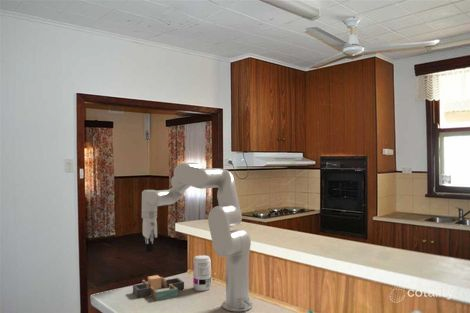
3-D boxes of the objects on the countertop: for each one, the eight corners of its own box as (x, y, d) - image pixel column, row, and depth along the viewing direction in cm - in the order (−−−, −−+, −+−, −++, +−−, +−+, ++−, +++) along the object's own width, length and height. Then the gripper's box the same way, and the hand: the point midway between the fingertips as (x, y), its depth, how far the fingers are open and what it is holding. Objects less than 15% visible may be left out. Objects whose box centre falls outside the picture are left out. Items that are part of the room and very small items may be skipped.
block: (161, 288, 179) (161, 277, 179) (150, 290, 177) (150, 279, 177) (157, 285, 184) (157, 275, 184) (147, 287, 181) (147, 276, 181)
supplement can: (190, 290, 176) (190, 258, 176) (198, 285, 183) (198, 254, 184) (206, 292, 173) (206, 259, 173) (213, 286, 181) (213, 255, 181)
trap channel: (190, 294, 170) (190, 286, 170) (142, 303, 159) (142, 295, 159) (173, 282, 188) (173, 275, 188) (129, 289, 177) (129, 282, 177)
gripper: (161, 216, 183) (161, 253, 183) (152, 212, 196) (151, 247, 196) (146, 217, 179) (146, 255, 179) (137, 213, 192) (137, 249, 192)
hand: (148, 251), depth 187 cm, fingers closed
